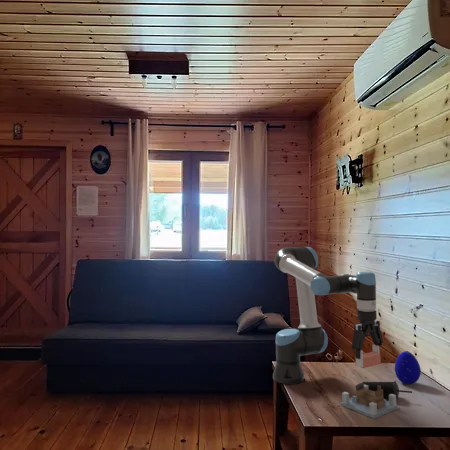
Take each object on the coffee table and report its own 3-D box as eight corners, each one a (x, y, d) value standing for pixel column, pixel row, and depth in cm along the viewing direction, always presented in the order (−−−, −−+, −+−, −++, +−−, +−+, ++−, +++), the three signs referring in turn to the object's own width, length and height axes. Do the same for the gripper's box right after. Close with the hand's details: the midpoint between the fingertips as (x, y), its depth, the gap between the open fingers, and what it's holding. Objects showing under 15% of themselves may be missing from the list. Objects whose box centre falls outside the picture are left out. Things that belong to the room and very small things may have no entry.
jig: (340, 404, 170) (340, 392, 170) (364, 395, 179) (364, 383, 179) (374, 418, 157) (374, 405, 157) (398, 407, 166) (397, 395, 166)
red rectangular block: (363, 368, 164) (362, 358, 164) (355, 365, 167) (355, 355, 168) (380, 363, 169) (380, 354, 169) (373, 361, 172) (372, 351, 172)
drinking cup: (363, 400, 180) (413, 406, 170) (360, 389, 177) (410, 394, 167) (365, 386, 186) (413, 390, 176) (362, 374, 183) (410, 378, 173)
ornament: (422, 383, 192) (421, 350, 192) (417, 389, 185) (416, 355, 185) (398, 377, 199) (397, 347, 199) (392, 383, 192) (391, 351, 192)
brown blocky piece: (383, 406, 165) (383, 384, 165) (378, 409, 162) (377, 387, 163) (361, 399, 173) (361, 378, 173) (356, 401, 170) (355, 380, 170)
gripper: (356, 314, 159) (358, 372, 158) (391, 307, 172) (392, 360, 172) (341, 311, 165) (342, 367, 164) (375, 305, 178) (376, 356, 178)
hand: (368, 363), depth 168 cm, fingers closed on red rectangular block, 10 cm apart
